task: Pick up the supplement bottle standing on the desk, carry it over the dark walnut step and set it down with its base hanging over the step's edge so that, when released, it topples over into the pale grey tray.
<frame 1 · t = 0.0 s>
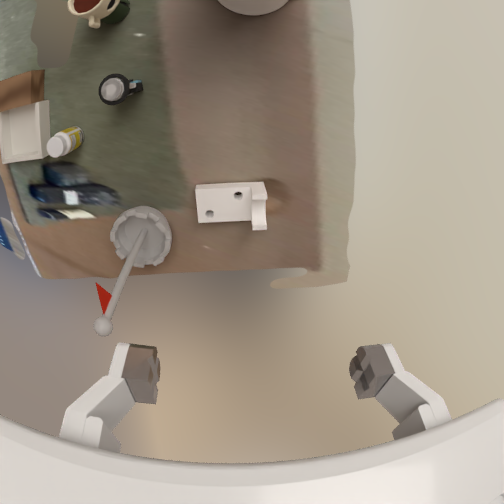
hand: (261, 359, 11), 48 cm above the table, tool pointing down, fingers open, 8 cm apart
push button: (127, 88, 44), on the table
walnut step: (20, 90, 37), on the table
supplement bottle: (75, 136, 48), on the table
character mug: (115, 10, 34), on the table
grey tray: (27, 113, 42), on the table
bracket: (230, 197, 59), on the table
flag stand: (145, 228, 61), on the table
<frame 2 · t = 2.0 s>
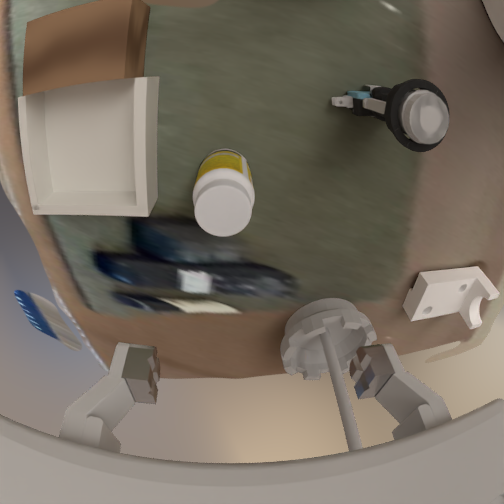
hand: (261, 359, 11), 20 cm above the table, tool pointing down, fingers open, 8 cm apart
push button: (362, 99, 23), on the table
walnut step: (83, 46, 16), on the table
supplement bottle: (225, 171, 27), on the table
grey tray: (93, 101, 21), on the table
bracket: (439, 282, 38), on the table
flag stand: (322, 324, 40), on the table
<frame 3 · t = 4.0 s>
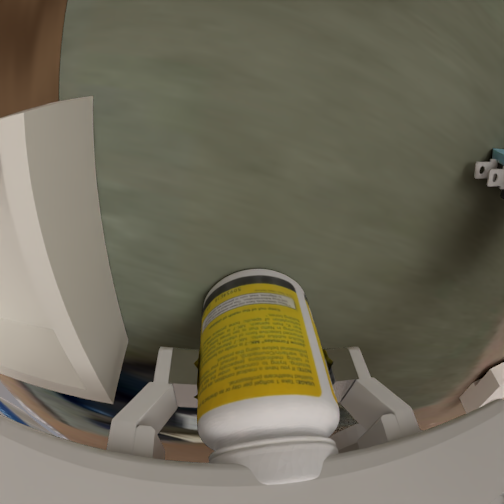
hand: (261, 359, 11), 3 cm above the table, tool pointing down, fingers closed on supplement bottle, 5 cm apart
push button: (503, 163, 10), on the table
supplement bottle: (254, 304, 13), on the table, touching gripper
bracket: (500, 365, 25), on the table
flag stand: (365, 433, 26), on the table
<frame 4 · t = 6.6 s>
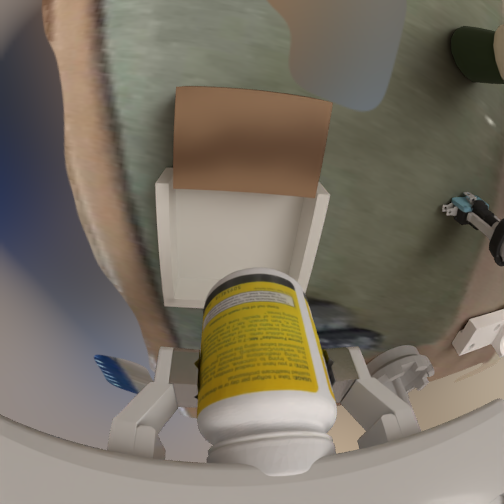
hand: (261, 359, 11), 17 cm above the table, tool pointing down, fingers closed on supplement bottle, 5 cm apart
push button: (458, 202, 27), on the table
walnut step: (248, 136, 20), on the table
supplement bottle: (255, 302, 14), point 14 cm above the table, touching gripper
character mug: (466, 53, 17), on the table
grey tray: (240, 192, 25), on the table
bracket: (479, 322, 42), on the table
flag stand: (389, 364, 44), on the table
when the fingers open (9 cm above the table, at t = 8.2 s): supplement bottle drops 2 cm, resting on grey tray.
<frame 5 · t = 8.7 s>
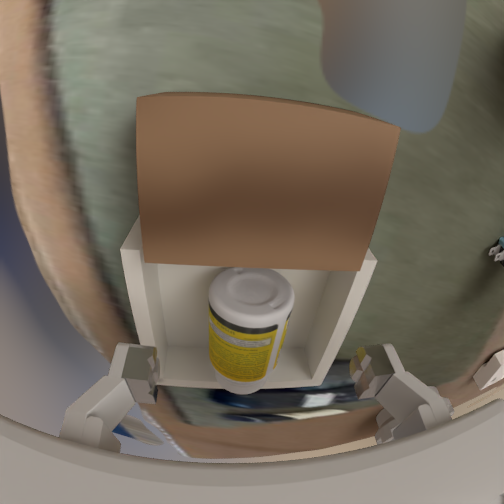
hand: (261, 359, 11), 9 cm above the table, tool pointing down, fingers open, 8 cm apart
walnut step: (261, 173, 13), on the table
supplement bottle: (253, 284, 16), point 3 cm above the table, touching grey tray
grey tray: (246, 246, 18), on the table
bracket: (501, 353, 35), on the table
flag stand: (406, 404, 37), on the table
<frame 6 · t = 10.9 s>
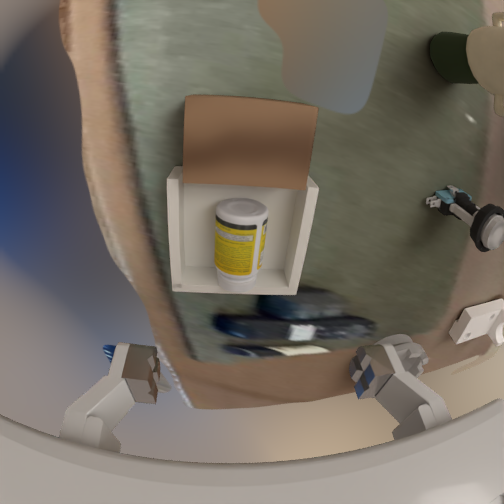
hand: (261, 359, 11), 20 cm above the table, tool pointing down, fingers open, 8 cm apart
push button: (442, 195, 30), on the table
walnut step: (247, 137, 23), on the table
supplement bottle: (243, 204, 26), point 3 cm above the table, touching grey tray
character mug: (445, 57, 21), on the table
grey tray: (240, 188, 28), on the table
bracket: (474, 312, 45), on the table
flag stand: (385, 353, 46), on the table
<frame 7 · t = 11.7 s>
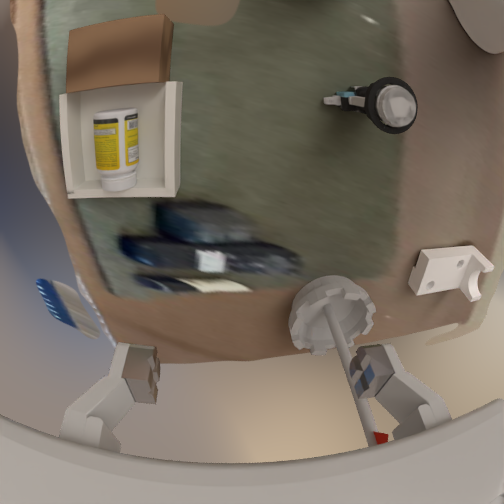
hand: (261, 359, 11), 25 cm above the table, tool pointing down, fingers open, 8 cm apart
push button: (348, 98, 29), on the table
walnut step: (119, 54, 22), on the table
supplement bottle: (115, 107, 24), point 3 cm above the table, touching grey tray
grey tray: (125, 102, 27), on the table
bracket: (439, 261, 43), on the table
flag stand: (325, 302, 45), on the table
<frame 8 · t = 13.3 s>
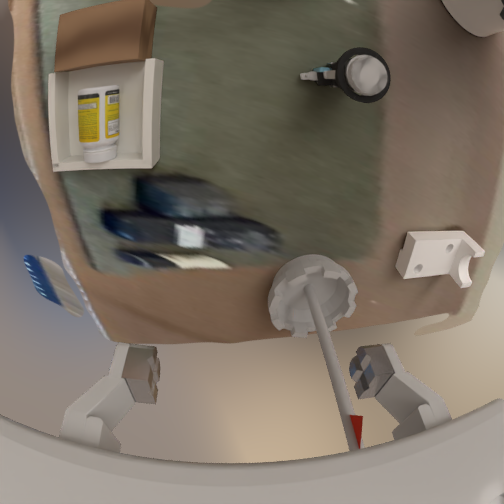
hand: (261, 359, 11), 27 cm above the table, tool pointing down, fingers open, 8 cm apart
push button: (326, 74, 28), on the table
walnut step: (104, 36, 21), on the table
supplement bottle: (98, 85, 24), point 3 cm above the table, touching grey tray
grey tray: (110, 80, 26), on the table
bracket: (428, 245, 43), on the table
flag stand: (307, 283, 45), on the table
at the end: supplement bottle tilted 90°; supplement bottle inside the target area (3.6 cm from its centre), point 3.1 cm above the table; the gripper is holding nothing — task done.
